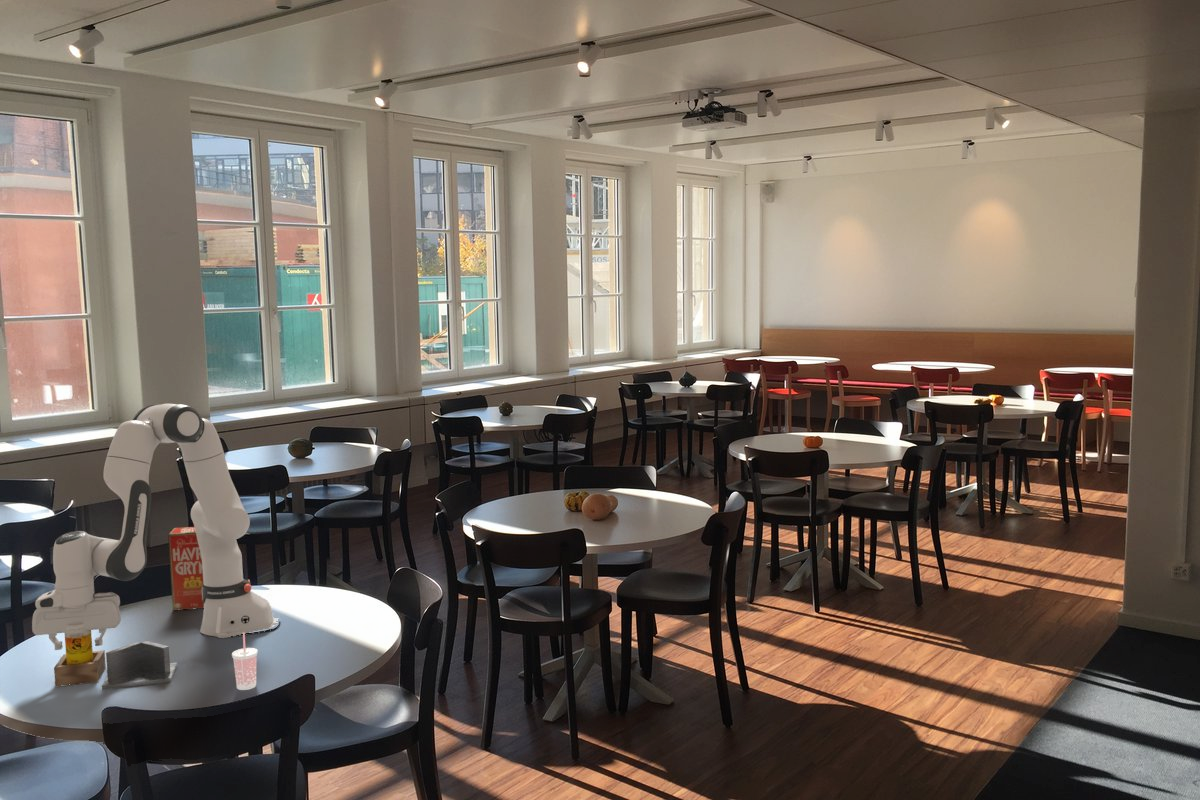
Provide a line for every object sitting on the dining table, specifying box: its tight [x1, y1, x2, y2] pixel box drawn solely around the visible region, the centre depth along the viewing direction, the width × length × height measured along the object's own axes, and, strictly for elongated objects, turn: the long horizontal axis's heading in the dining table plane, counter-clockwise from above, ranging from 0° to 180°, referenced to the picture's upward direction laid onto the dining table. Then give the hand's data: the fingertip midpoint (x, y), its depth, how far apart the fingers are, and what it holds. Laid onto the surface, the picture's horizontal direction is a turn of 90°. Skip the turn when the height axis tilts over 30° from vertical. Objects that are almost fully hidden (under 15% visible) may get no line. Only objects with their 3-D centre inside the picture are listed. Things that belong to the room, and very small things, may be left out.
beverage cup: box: [231, 633, 259, 691], centre depth 246 cm, size 6×6×14 cm
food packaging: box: [167, 526, 204, 611], centre depth 313 cm, size 13×9×25 cm
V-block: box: [101, 640, 178, 690], centre depth 253 cm, size 16×12×8 cm
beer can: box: [64, 623, 93, 665], centre depth 254 cm, size 6×6×15 cm
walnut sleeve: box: [53, 649, 107, 687], centre depth 254 cm, size 10×10×5 cm
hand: (79, 647), depth 254 cm, fingers open, 8 cm apart
